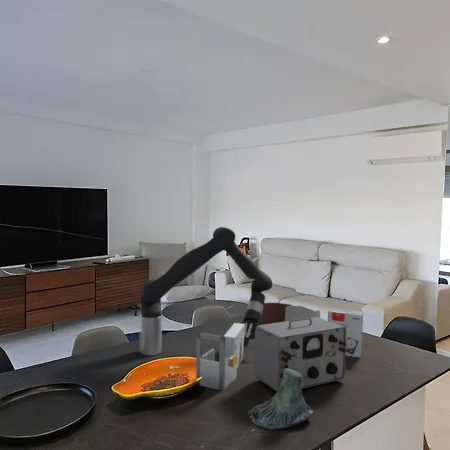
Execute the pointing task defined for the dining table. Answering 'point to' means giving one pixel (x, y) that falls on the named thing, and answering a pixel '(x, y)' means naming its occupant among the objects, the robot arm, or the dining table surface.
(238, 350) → the skincare box
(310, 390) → the dining table surface
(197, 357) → the rack bay
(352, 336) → the hard drive box
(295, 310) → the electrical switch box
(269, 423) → the tree stump
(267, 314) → the letter holder
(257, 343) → the vintage electronic device
